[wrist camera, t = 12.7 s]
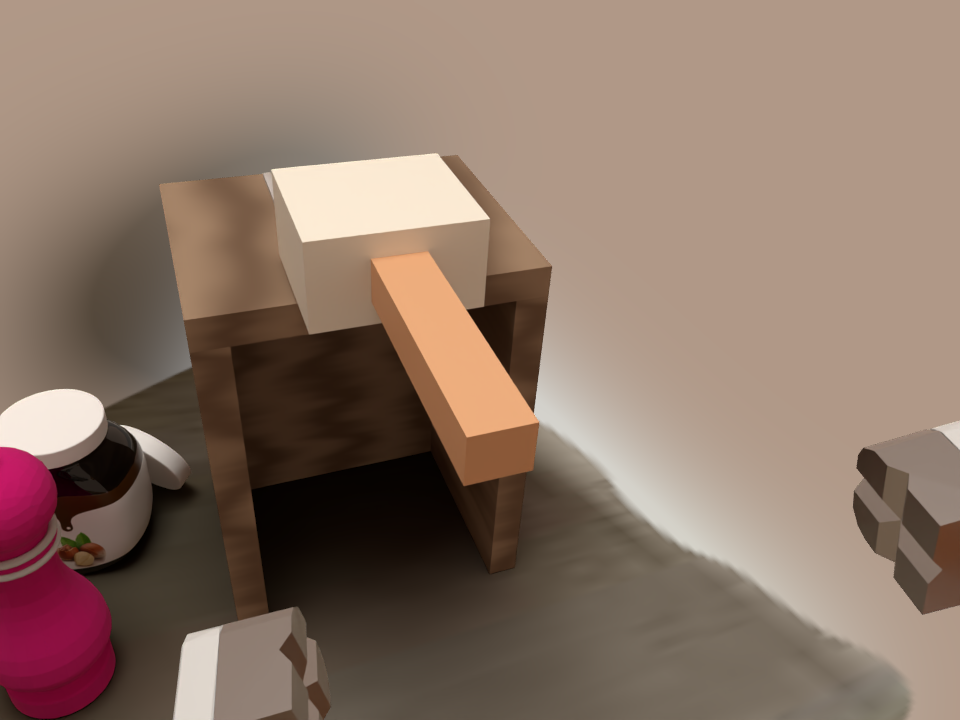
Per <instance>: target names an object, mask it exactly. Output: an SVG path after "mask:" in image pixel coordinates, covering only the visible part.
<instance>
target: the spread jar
mask: <svg viewBox="0 0 960 720" xmlns="http://www.w3.org/2000/svg"><path fill="white" fill-rule="evenodd" d="M0 447H12V448H16V449H20V450H23V451H26V452H28V453H30V454H32V455H33V456H35V457H36V458H38V459H39V460H40V461H42V462H43V464H44V465H45V466H46V467H47V468H48V470H49V471H50V473H51V474H52V476H53V479H54V481H55V483H56V488H57V493H58V494H57V506H56V509H55V512H54V513H55V515H56V518H57V523H58V524H59V526H60V529H61V541H60V544H59V546H58V548H57V550H56V551H57V553H58V555H59V557H60V559H61V560H62V561H63V562H64V564H66V565H67V566H68V567H69V568H71V569H72V570H74V571H76V572H77V573H79V574H80V575H81V574H87V573H91V572H95V571H98V570H101V569H104V568H106V567H109V566H111V565H113V564H115V563H117V562H119V561H120V560H122V559H123V558H124V557H126V556H127V555H128V554H129V553H130V552H131V551H132V550H133V549H134V548H135V547H136V545H137V544H138V543H139V541H140V540H141V538H142V536H143V534H144V532H145V530H146V528H147V525H148V523H149V520H150V516H151V511H152V502H153V493H152V485H151V483H153V484H155V485H158V486H161V487H164V488H167V489H173V490H177V489H180V488H181V487H182V485H183V484H184V482H185V481H186V480H187V478H188V477H189V475H190V474H191V469H190V467H189V465H188V464H187V462H186V461H185V460H184V459H183V458H182V457H181V456H180V455H179V454H178V453H176V452H175V451H174V450H173V449H171V448H170V447H169V446H167V445H166V444H164V443H163V442H161V441H159V440H158V439H156V438H154V437H153V436H151V435H149V434H147V433H145V432H142V431H140V430H138V429H135V428H132V427H129V426H124V425H119V424H117V423H115V422H113V421H111V420H109V419H106V415H105V411H104V408H103V405H102V403H101V402H100V401H99V400H98V399H97V398H96V397H95V396H93V395H92V394H89V393H86V392H83V391H79V390H72V389H57V390H51V391H45V392H41V393H37V394H34V395H32V396H29V397H26V398H24V399H22V400H20V401H18V402H16V403H15V404H13V405H12V406H10V407H9V408H8V409H7V410H5V411H4V412H3V413H2V414H1V416H0Z"/></svg>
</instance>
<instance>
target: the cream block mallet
mask: <svg viewBox="0 0 960 720" xmlns="http://www.w3.org/2000/svg"><path fill="white" fill-rule="evenodd" d="M271 174H272V184H273V195H274V205H275V216H276V226H277V237H278V247H279V255H280V258H281V261H282V263H283V266H284V269H285V271H286V274H287V277H288V279H289V282H290V285H291V287H292V290H293V293H294V295H295V298H296V301H297V303H298V306H299V309H300V311H301V314H302V317H303V319H304V322H305V325H306V327H307V330H308V333H309V335H310V334H316V333H323V332H329V331H335V330H341V329H348V328H354V327H360V326H366V325H373V324H379V323H382V324H383V326H384V328H385V330H386V332H387V334H388V336H389V338H390V340H391V342H392V344H393V346H394V348H395V350H396V352H397V354H398V356H399V358H400V360H401V362H402V364H403V366H404V368H405V370H406V372H407V374H408V376H409V378H410V380H411V382H412V384H413V386H414V388H415V390H416V392H417V394H418V396H419V398H420V400H421V402H422V404H423V406H424V408H425V410H426V412H427V414H428V416H429V418H430V420H431V422H432V424H433V426H434V428H435V430H436V432H437V434H438V436H439V438H440V440H441V442H442V444H443V446H444V448H445V450H446V452H447V454H448V456H449V458H450V460H451V462H452V464H453V466H454V468H455V470H456V472H457V474H458V476H459V478H460V480H461V482H462V484H463V486H467V485H471V484H475V483H480V482H484V481H488V480H493V479H497V478H502V477H506V476H510V475H515V474H519V473H523V472H528V471H532V470H533V466H534V459H535V451H536V443H537V436H538V428H539V421H538V420H537V418H536V417H535V415H534V413H533V412H532V410H531V409H530V407H529V406H528V404H527V403H526V401H525V400H524V398H523V397H522V395H521V393H520V392H519V390H518V389H517V387H516V386H515V384H514V383H513V381H512V380H511V378H510V377H509V375H508V373H507V372H506V370H505V369H504V367H503V366H502V364H501V363H500V361H499V360H498V358H497V356H496V355H495V353H494V352H493V350H492V349H491V347H490V346H489V344H488V343H487V341H486V340H485V338H484V336H483V335H482V333H481V332H480V330H479V329H478V327H477V326H476V324H475V323H474V321H473V320H472V318H471V316H470V315H469V313H468V312H467V309H473V308H479V307H484V300H485V286H486V272H487V258H488V244H489V230H490V218H489V217H488V216H487V214H486V213H485V212H484V211H483V209H482V208H481V207H480V206H479V204H478V203H477V202H476V201H475V199H474V198H473V197H472V196H471V195H470V193H469V192H468V191H467V190H466V188H465V187H464V186H463V185H462V183H461V182H460V181H459V180H458V179H457V177H456V176H455V175H454V174H453V172H452V171H451V170H450V169H449V167H448V166H447V165H446V164H445V163H444V161H443V160H442V159H441V158H440V157H439V155H438V154H437V153H436V154H426V155H416V156H405V157H394V158H385V159H374V160H363V161H353V162H343V163H333V164H322V165H311V166H301V167H292V168H280V169H271Z"/></svg>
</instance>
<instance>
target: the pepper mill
mask: <svg viewBox="0 0 960 720" xmlns="http://www.w3.org/2000/svg"><path fill="white" fill-rule="evenodd" d="M57 494H58V493H57V488H56V483H55V481H54V479H53V476H52V474H51V473H50V471H49V470H48V468H47V467H46V466H45V465H44V464H43V462H42V461H40V460H39V459H38V458H36V457H35V456H33V455H32V454H30V453H28V452H26V451H23V450H20V449H16V448H12V447H0V685H1V686H3V687H5V688H6V690H7V693H8V695H9V697H10V699H11V701H12V703H13V704H14V706H15V707H16V708H17V709H18V710H19V711H20V712H22V713H23V714H25V715H27V716H30V717H33V718H38V719H54V718H58V717H62V716H66V715H70V714H72V713H74V712H76V711H78V710H80V709H82V708H83V707H85V706H86V705H88V704H90V703H91V702H92V701H94V700H95V699H96V698H97V697H98V696H99V695H100V694H101V693H102V692H103V690H104V689H105V688H106V687H107V685H108V683H109V681H110V679H111V678H112V676H113V673H114V669H115V662H116V659H115V653H114V650H113V647H112V644H111V641H110V638H109V637H110V633H111V628H112V624H111V614H110V610H109V608H108V606H107V604H106V602H105V600H104V598H103V596H102V594H101V593H100V592H99V590H98V589H97V588H96V587H95V586H94V585H93V584H92V583H91V582H90V581H89V580H88V579H86V578H85V577H84V576H82V575H80V574H79V573H77V572H76V571H74V570H72V569H71V568H69V567H68V566H67V565H66V564H64V562H63V561H62V560H61V559H60V557H59V555H58V553H57V551H56V550H57V548H58V546H59V544H60V541H61V529H60V526H59V524H58V523H57V518H56V515H55V513H54V512H55V509H56V506H57Z"/></svg>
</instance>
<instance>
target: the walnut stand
mask: <svg viewBox="0 0 960 720" xmlns="http://www.w3.org/2000/svg"><path fill="white" fill-rule="evenodd" d="M440 158H441V159H442V160H443V161H444V163H445V164H446V165H447V166H448V167H449V169H450V170H451V171H452V172H453V174H454V175H455V176H456V177H457V179H458V180H459V181H460V182H461V183H462V185H463V186H464V187H465V188H466V190H467V191H468V192H469V193H470V195H471V196H472V197H473V198H474V199H475V201H476V202H477V203H478V204H479V206H480V207H481V208H482V209H483V211H484V212H485V213H486V214H487V216H488V217H489V218H490V230H489V244H488V258H487V272H486V286H485V300H484V307H479V308H473V309H467V312H468V313H469V315H470V316H471V318H472V320H473V321H474V323H475V324H476V326H477V327H478V329H479V330H480V332H481V333H482V335H483V336H484V338H485V340H486V341H487V343H488V344H489V346H490V347H491V349H492V350H493V352H494V353H495V355H496V356H497V358H498V360H499V361H500V363H501V364H502V366H503V367H504V369H505V370H506V372H507V373H508V375H509V377H510V378H511V380H512V381H513V383H514V384H515V386H516V387H517V389H518V390H519V392H520V393H521V395H522V397H523V398H524V400H525V401H526V403H527V404H528V406H529V407H530V409H531V410H532V412H533V413H534V406H535V399H536V391H537V382H538V375H539V367H540V358H541V350H542V342H543V335H544V334H543V333H544V326H545V318H546V310H547V302H548V294H549V286H550V278H551V270H552V266H551V264H550V263H549V262H548V261H547V260H546V259H545V257H544V256H543V255H542V254H541V253H540V251H539V250H538V249H537V248H536V247H535V246H534V244H533V243H532V242H531V241H530V240H529V239H528V238H527V237H526V235H525V234H524V233H523V232H522V230H520V228H519V227H518V226H517V225H516V223H515V222H514V221H513V220H512V219H511V218H510V216H509V215H508V214H507V213H506V212H505V210H504V209H503V208H502V207H501V206H500V205H499V203H498V202H497V201H496V200H495V199H494V198H493V196H492V195H491V194H490V193H489V192H488V191H487V189H486V188H485V187H484V186H483V185H482V184H481V182H480V181H479V180H478V179H477V178H476V176H475V175H474V174H473V173H472V172H471V171H470V169H469V168H468V167H467V166H466V165H465V164H464V162H463V161H462V160H461V159H460V158H459V157H458V155H454V156H443V157H440ZM159 186H160V192H161V197H162V203H163V208H164V214H165V219H166V225H167V230H168V236H169V241H170V247H171V252H172V258H173V264H174V269H175V275H176V280H177V286H178V291H179V297H180V302H181V307H182V313H183V319H184V324H185V330H186V335H187V341H188V347H189V352H190V357H191V363H192V369H193V374H194V380H195V385H196V391H197V396H198V402H199V407H200V413H201V419H202V424H203V430H204V435H205V441H206V446H207V452H208V457H209V463H210V468H211V474H212V479H213V485H214V491H215V496H216V502H217V507H218V513H219V518H220V524H221V529H222V535H223V540H224V546H225V551H226V557H227V562H228V568H229V573H230V579H231V585H232V590H233V596H234V601H235V607H236V612H237V618H238V621H240V620H244V619H248V618H252V617H256V616H260V615H264V614H268V613H269V611H268V604H267V597H266V590H265V583H264V576H263V569H262V562H261V556H260V549H259V542H258V535H257V528H256V521H255V514H254V507H253V500H252V493H251V489H255V488H260V487H265V486H269V485H274V484H279V483H283V482H288V481H293V480H297V479H302V478H307V477H312V476H316V475H321V474H326V473H330V472H335V471H340V470H344V469H349V468H354V467H358V466H363V465H368V464H373V463H377V462H382V461H387V460H391V459H396V458H401V457H405V456H410V455H415V454H419V453H424V452H429V451H431V453H432V455H433V457H434V459H435V461H436V463H437V465H438V467H439V469H440V471H441V474H442V476H443V478H444V480H445V482H446V484H447V486H448V488H449V490H450V492H451V494H452V496H453V499H454V501H455V503H456V505H457V507H458V509H459V511H460V513H461V515H462V517H463V519H464V521H465V524H466V526H467V528H468V530H469V532H470V534H471V536H472V538H473V540H474V542H475V544H476V546H477V549H478V551H479V553H480V555H481V557H482V559H483V561H484V563H485V565H486V567H487V569H488V572H489V574H492V573H496V572H499V571H503V570H507V569H511V568H514V567H515V560H516V552H517V544H518V536H519V528H520V520H521V511H522V503H523V495H524V487H525V479H526V472H523V473H519V474H515V475H510V476H506V477H502V478H497V479H493V480H488V481H484V482H480V483H475V484H471V485H467V486H463V484H462V482H461V480H460V478H459V476H458V474H457V472H456V470H455V468H454V466H453V464H452V462H451V460H450V458H449V456H448V454H447V452H446V450H445V448H444V446H443V444H442V442H441V440H440V438H439V436H438V434H437V432H436V430H435V428H434V426H433V424H432V422H431V420H430V418H429V416H428V414H427V412H426V410H425V408H424V406H423V404H422V402H421V400H420V398H419V396H418V394H417V392H416V390H415V388H414V386H413V384H412V382H411V380H410V378H409V376H408V374H407V372H406V370H405V368H404V366H403V364H402V362H401V360H400V358H399V356H398V354H397V352H396V350H395V348H394V346H393V344H392V342H391V340H390V338H389V336H388V334H387V332H386V330H385V328H384V326H383V324H382V323H379V324H373V325H366V326H360V327H354V328H348V329H341V330H335V331H329V332H323V333H316V334H310V335H309V333H308V330H307V327H306V325H305V322H304V319H303V317H302V314H301V311H300V309H299V306H298V303H297V301H296V298H295V295H294V293H293V290H292V287H291V285H290V282H289V279H288V277H287V274H286V271H285V269H284V266H283V263H282V261H281V258H280V255H279V247H278V237H277V226H276V216H275V205H274V195H273V184H272V174H271V172H268V173H263V174H258V175H248V176H238V177H228V178H218V179H208V180H197V181H187V182H177V183H166V184H159Z"/></svg>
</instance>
